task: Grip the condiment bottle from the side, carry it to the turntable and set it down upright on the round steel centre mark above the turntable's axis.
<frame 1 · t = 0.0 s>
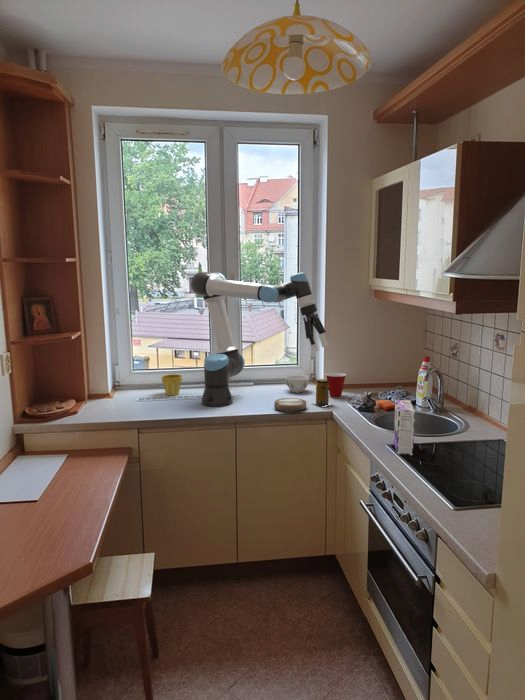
hand: (320, 349, 229), 28 cm above the worktop, tool tilted 20°, fingers open, 13 cm apart
plastic cup: (335, 396, 253), on the worktop
turntable base: (290, 408, 232), on the worktop
turntable: (290, 404, 231), point 2 cm above the worktop, hinge at 0.0°
condiment: (323, 405, 237), on the worktop
plant pot: (172, 394, 260), on the worktop
candy box: (403, 448, 180), on the worktop
teacup: (295, 391, 263), on the worktop
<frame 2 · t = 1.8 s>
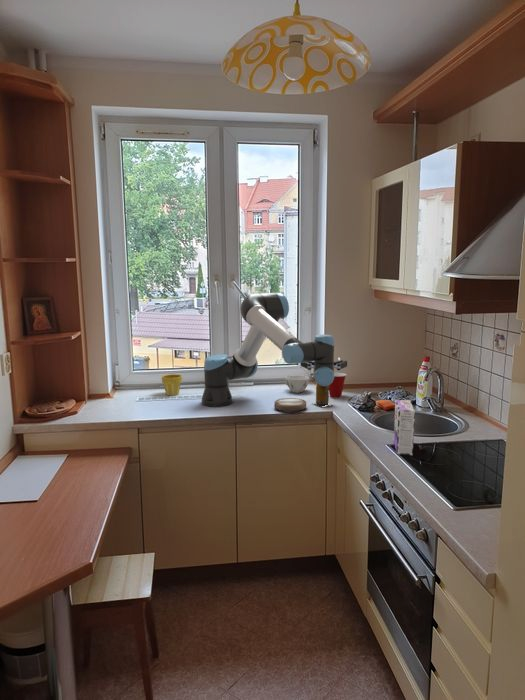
hand: (323, 360, 224), 24 cm above the worktop, tool horizontal, fingers open, 13 cm apart
nothing on the worktop moved.
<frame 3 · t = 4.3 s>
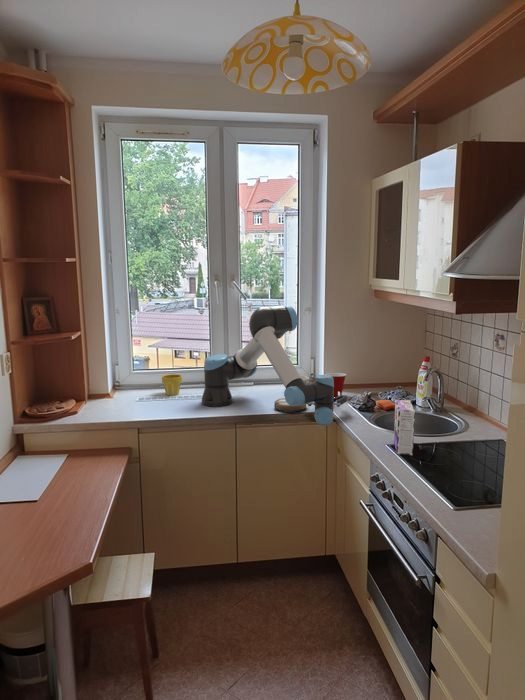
hand: (324, 394, 230), 7 cm above the worktop, tool horizontal, fingers open, 13 cm apart
nothing on the worktop moved.
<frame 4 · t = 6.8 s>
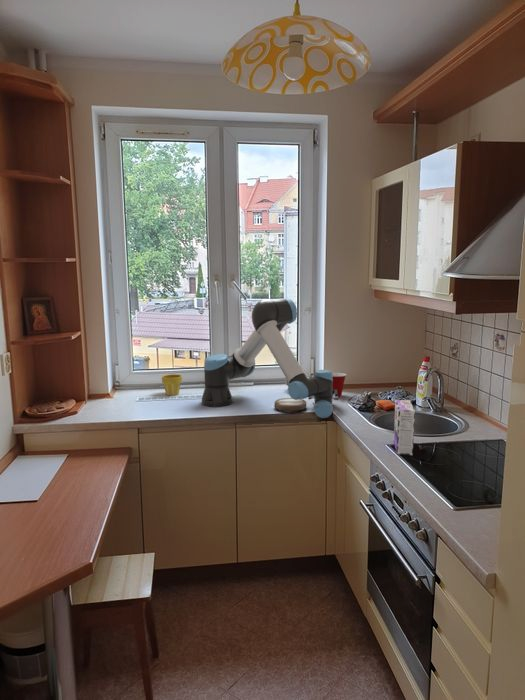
hand: (322, 388, 241), 7 cm above the worktop, tool horizontal, fingers closed on condiment, 6 cm apart
condiment: (323, 405, 237), on the worktop, touching gripper
everything else where it was.
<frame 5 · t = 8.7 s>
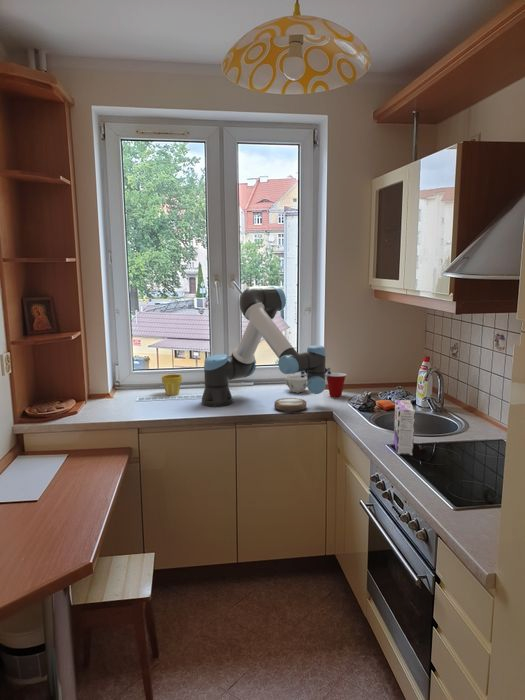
hand: (315, 367, 238), 18 cm above the worktop, tool horizontal, fingers closed on condiment, 6 cm apart
condiment: (316, 384, 234), point 10 cm above the worktop, touching gripper
everything else where it was.
when the fingers open (11 cm above the worktop, at t = 11.0 s): condiment drops 1 cm, resting on turntable.
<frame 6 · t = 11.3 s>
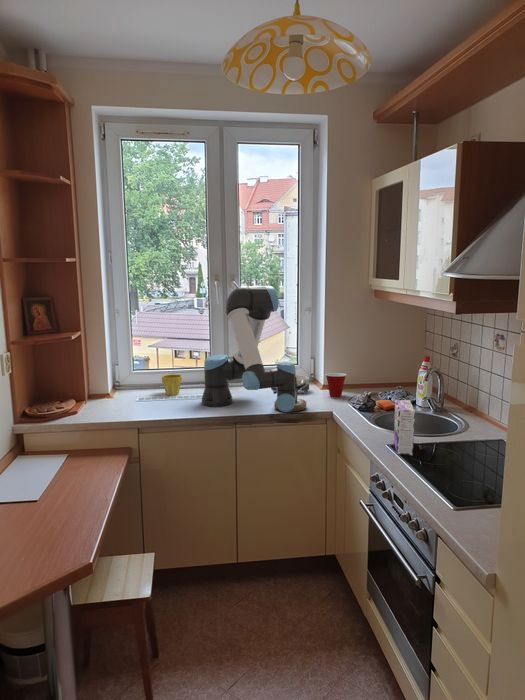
hand: (291, 382, 234), 11 cm above the worktop, tool horizontal, fingers open, 10 cm apart
turntable: (290, 404, 231), point 2 cm above the worktop, hinge at 0.0°, touching condiment
condiment: (291, 402, 231), point 3 cm above the worktop, touching turntable
everything else where it was.
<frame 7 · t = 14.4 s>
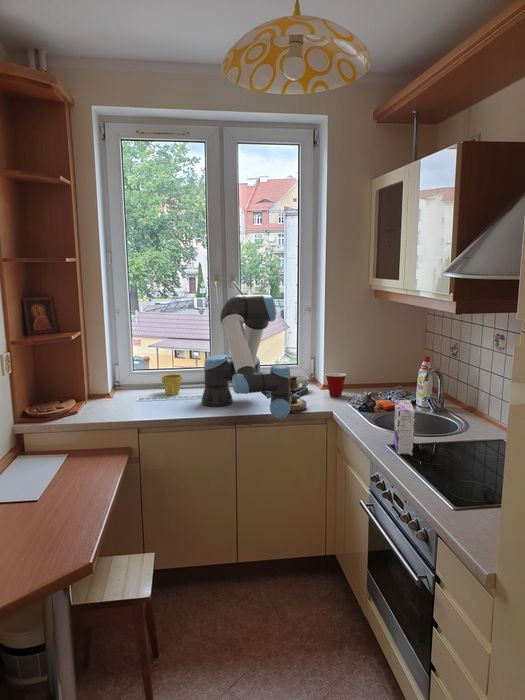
hand: (285, 385, 220), 13 cm above the worktop, tool horizontal, fingers open, 13 cm apart
nothing on the worktop moved.
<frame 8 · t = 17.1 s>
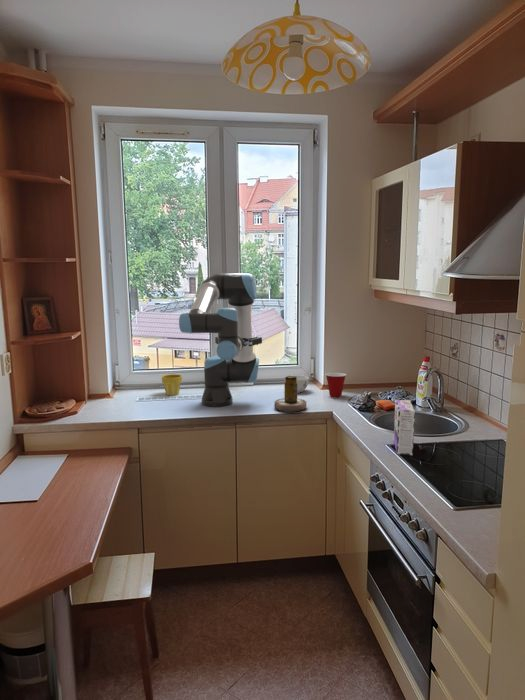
hand: (241, 337, 218), 35 cm above the worktop, tool horizontal, fingers open, 13 cm apart
nothing on the worktop moved.
at the end: condiment 0.6 cm from the turntable (horizontally); condiment point 2.8 cm above the worktop; condiment tilted 0° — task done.
